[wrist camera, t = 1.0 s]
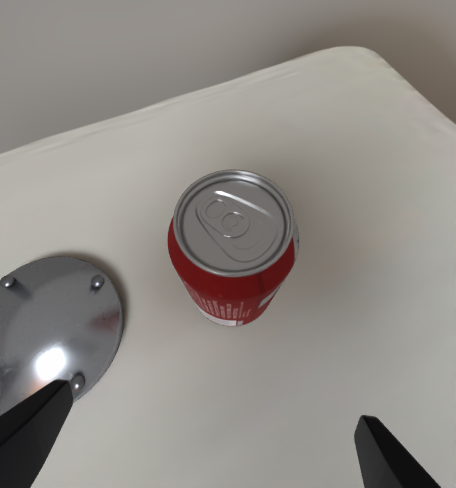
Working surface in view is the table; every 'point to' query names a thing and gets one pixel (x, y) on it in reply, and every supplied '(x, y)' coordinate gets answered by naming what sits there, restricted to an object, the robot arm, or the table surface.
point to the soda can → (233, 244)
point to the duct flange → (56, 327)
